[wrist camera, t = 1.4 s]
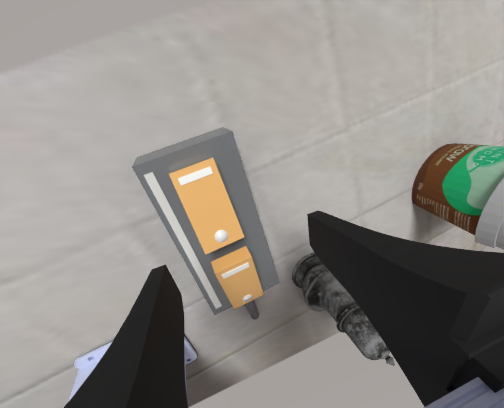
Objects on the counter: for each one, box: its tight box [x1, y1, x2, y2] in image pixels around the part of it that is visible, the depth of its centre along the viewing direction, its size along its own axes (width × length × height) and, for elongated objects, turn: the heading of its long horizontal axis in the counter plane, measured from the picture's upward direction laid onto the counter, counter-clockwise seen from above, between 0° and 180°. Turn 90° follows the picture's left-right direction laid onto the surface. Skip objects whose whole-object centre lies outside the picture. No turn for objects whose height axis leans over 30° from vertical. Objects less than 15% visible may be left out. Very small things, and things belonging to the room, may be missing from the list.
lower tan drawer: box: [211, 246, 264, 309], centre depth 20 cm, size 3×6×1 cm, turn 16°
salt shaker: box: [292, 253, 395, 366], centre depth 23 cm, size 6×6×12 cm
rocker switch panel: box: [132, 128, 279, 320], centre depth 21 cm, size 7×22×4 cm, turn 16°
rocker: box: [169, 158, 244, 255], centre depth 16 cm, size 3×6×1 cm, turn 16°
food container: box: [412, 144, 504, 249], centre depth 24 cm, size 12×6×10 cm, turn 124°
